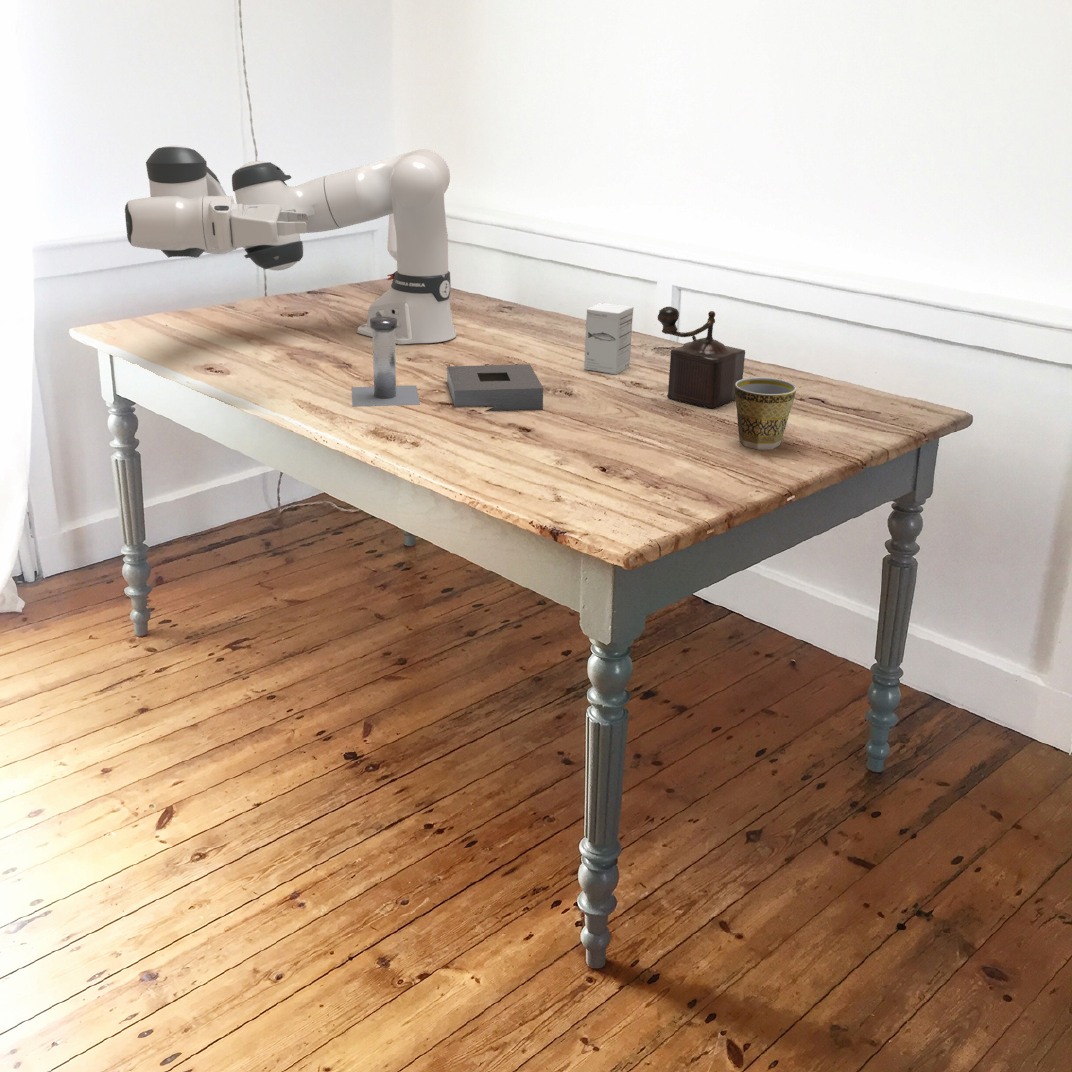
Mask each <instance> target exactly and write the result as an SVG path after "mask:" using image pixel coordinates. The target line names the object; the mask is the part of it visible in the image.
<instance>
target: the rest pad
mask: <svg viewBox="0 0 1072 1072" xmlns="http://www.w3.org/2000/svg"><path fill="white" fill-rule="evenodd" d="M419 397H420V396H419V391H418V387H417V385H396V396H395V397H393V398H388V399H382V398H377V397H375V396H374V386H352V387H351V398H352V401H351V403H352V408H353V407H354V408H357V407H359V408H360V407H384V406H386V407H387V406H388V407H389V406H391V407H392V406H420V405H421V403H420V398H419Z"/></svg>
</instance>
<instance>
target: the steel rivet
mask: <svg viewBox="0 0 1072 1072" xmlns="http://www.w3.org/2000/svg"><path fill="white" fill-rule="evenodd" d="M370 327H371V328H372V330H373V337H372V360H373V361H372V363H373V365H372V367H373V387H374V396H375V397H377V398H382V399H388V398H393V397H395V396H396V386H397V376H396V375H397V374H396V372H397V371H396V368H397V366H396V361H397V360H396V343H395V328H397V319H396V318H392V317H374V318H371V319H370Z"/></svg>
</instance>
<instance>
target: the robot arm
mask: <svg viewBox="0 0 1072 1072" xmlns="http://www.w3.org/2000/svg"><path fill="white" fill-rule="evenodd" d="M145 166H146V172H147V177H148V182H149V195H150V197H140V198H136V199H130V200H127V202H126V204H125V206H124V213H125V215H124V216H125V227H126V237H127V241H128V242H129V244H130V245H131V246H132V247H134V248H135V247H136V248H140V249H146V250H147V249H149V250H157V251H159V250H160V251H161V252H162V253H163V254H164V255H165V256H166V257H167V258H175V257H182V258H183V257H185V258H187V257H189V258H199V257H200V256H201V255H202V254H203V253H206V254H212V255H223V254H228V253H231V252H233V251H235V250H236V251H237V249H241V248H243V249H244V251H245V253H246V254H245V255H243V257H244V258H245V259H250V260H251V261H252V262H253V264H254V265H256V266H257V267H260V268H261V269H263V270H269V271H277V272H278V271H284V270H288V269H290V268H292V267H293V266H295V265H296V264H297V263H298V262H300V261H301V260H302V259H303V257H304V245H303V241H302V240H301V234H312V233H321V232H323V233H324V232H329V231H334V230H339V229H342V228H347V227H350V226H354V225H359V224H362V223H366V222H370V221H374V220H378V219H380V218H383V217H386V216H389V214H392V213H393V216H394V223H395V230H396V245H397V261H396V264H397V265H396V269H397V270H396V271H394V272H393V273H391V274H387V277H388V278H387V279H386V280H387V281H390V280H392V282H391V285H390V287H389V289H388V290H387V291H385V292H384V293H383V294H381V295H380V296H379V297H378V298H377V299H375V300H374V301H373V302H371V303H370V305H369V308H368V311H367V321H366V323H364V324H361V325H359V326H358V327H357V331H356V333H357V334H360V335H363V336H367V337H370V338H373V330H372V328H371V327H370V319H371V318H374V317H392V318H396V319H397V328H395V345H396V344H397V345H409V344H433V343H434V344H435V343H442V342H447V341H450V340H452V339H454V338H455V337H457V332H456V329H455V326H454V322H453V315H452V309H451V302H450V301H451V300H450V299H451V298H450V296H451V287H452V286H451V272H450V271H449V238H448V237H449V235H448V228H447V221H446V220H447V219H446V209H445V208H446V207H445V193H446V192H447V191H448V189H449V186H450V181H451V173H450V168H449V165H448V163H447V162H446V161H445V159H444V157H442V155H441V154H439V153H437V152H436V151H433V150H430V149H417V150H412V151H410V152H406V153H403V154H399V155H396V156H391V157H389V158H385V159H382V160H379V161H375V162H371V163H368V164H365V165H361V166H358V167H355V168H350V169H347V170H344V171H339V172H334V173H331V174H328V175H324V176H321V177H317V178H314V179H311V180H309V181H307V182H306V181H305V182H304V183H302V184H299V185H295V186H289V185H288V184H287V183H286V182H285V181H288V180H290V179H292V176H291V175H290V174H285V172H284V171H283V169H281V168H280V167H279V166H277V165H276V164H274V163H272V162H269V161H268V162H267V161H261V160H255V161H250V162H248V163H244V164H243V165H242V166H240V167H239V168H238V169H235V170H234V172H233V174H232V175H231V185H232V186H231V187H232V192H234V196H235V200H234V198H233V196H232V195H228V194H227V193H226V191H225V190H224V188H223V186H222V185H221V182H220V181H219V179H218V177H217V174H215V173H214V172H213V170H211V169H210V168H209V167H208V163H207V160H206V158H204V157H203V156H202V154H200V153H199V152H198V151H197V150H195V149H194V148H193V149H192V148H189V147H187V146H182V145H165V146H162V147H158V148H156V149H155V150H153V152H152V153H151V154H150V156H149V157H148V158H147V159H146V162H145ZM235 201H236V203H235Z"/></svg>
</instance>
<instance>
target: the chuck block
mask: <svg viewBox="0 0 1072 1072" xmlns="http://www.w3.org/2000/svg"><path fill="white" fill-rule="evenodd" d="M446 384H447V386H448V390H449V392H450V396H451V399H452V402H453V407H454V408H465V407H468V408H470V407H471V408H472V407H491V408H488V409H485V412H504V411H505V412H507V411H508V412H509V411H533V410H534V411H536V410H537V411H541V410H543V409H544V387H543V385H542V384H541V382H540V379H539V378H538V376H537V373H535V370H534V369H533V366H532V365H531V364H530V363H529V364H528V363H526V364H493V365H492V364H490V365H487V364H484V365H483V364H482V365H449V366H448V365H447V366H446Z"/></svg>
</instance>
